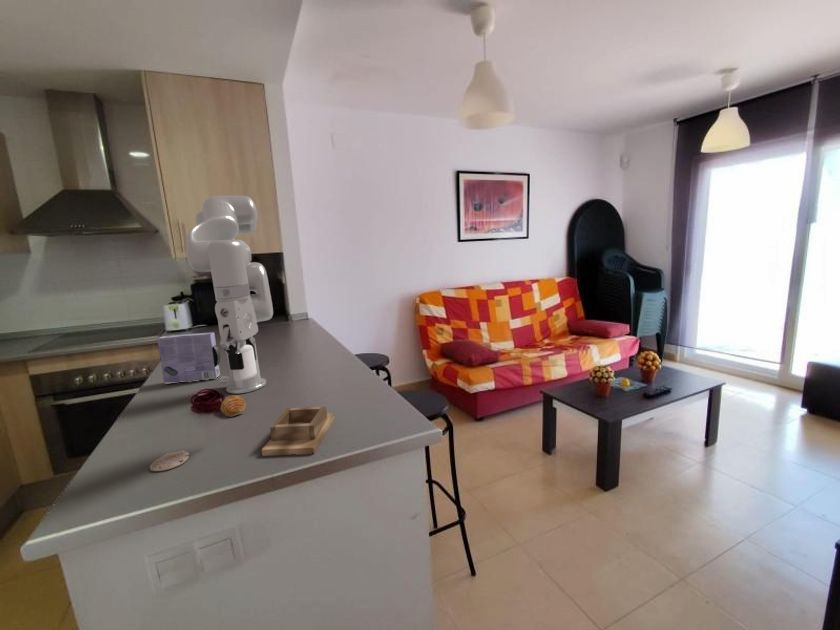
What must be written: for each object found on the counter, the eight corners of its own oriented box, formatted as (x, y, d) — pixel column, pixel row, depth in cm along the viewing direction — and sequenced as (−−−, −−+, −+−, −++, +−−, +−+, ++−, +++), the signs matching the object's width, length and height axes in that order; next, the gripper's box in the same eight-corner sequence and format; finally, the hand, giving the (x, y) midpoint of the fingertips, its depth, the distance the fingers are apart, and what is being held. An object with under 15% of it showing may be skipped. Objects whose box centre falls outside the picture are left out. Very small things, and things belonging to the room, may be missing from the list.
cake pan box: (224, 375, 148) (216, 330, 145) (219, 379, 143) (211, 333, 140) (170, 381, 145) (161, 335, 142) (163, 385, 140) (154, 339, 137)
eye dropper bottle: (260, 377, 96) (253, 330, 94) (235, 383, 93) (227, 335, 90) (255, 372, 100) (248, 327, 97) (232, 378, 96) (224, 332, 94)
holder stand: (262, 455, 87) (259, 435, 86) (291, 419, 105) (289, 402, 104) (314, 453, 87) (311, 433, 86) (334, 417, 104) (332, 400, 103)
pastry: (250, 413, 111) (248, 401, 111) (224, 421, 108) (222, 408, 107) (244, 403, 119) (242, 392, 118) (220, 410, 115) (217, 398, 115)
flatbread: (178, 471, 84) (177, 467, 84) (142, 475, 83) (141, 470, 83) (196, 451, 92) (196, 447, 92) (164, 454, 91) (163, 450, 91)
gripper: (228, 297, 83) (241, 376, 87) (263, 287, 100) (273, 353, 104) (195, 299, 84) (209, 378, 87) (235, 288, 100) (246, 354, 104)
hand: (243, 364), depth 95 cm, fingers closed on eye dropper bottle, 5 cm apart
